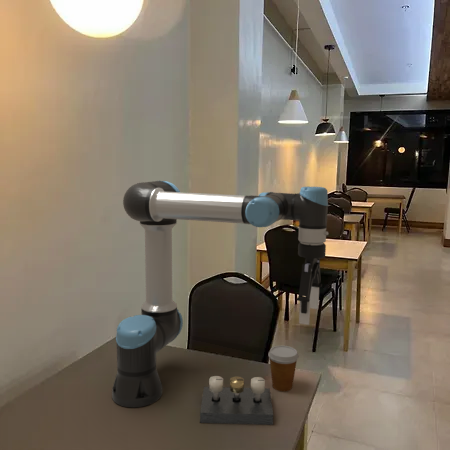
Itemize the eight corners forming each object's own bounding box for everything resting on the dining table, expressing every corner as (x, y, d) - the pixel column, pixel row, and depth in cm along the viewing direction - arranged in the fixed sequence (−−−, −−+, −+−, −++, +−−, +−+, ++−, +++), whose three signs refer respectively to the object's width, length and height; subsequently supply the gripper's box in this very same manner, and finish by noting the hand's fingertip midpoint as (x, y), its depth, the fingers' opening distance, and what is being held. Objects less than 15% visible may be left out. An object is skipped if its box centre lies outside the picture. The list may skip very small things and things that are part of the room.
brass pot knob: (229, 402, 127) (229, 382, 126) (229, 395, 131) (230, 376, 130) (243, 403, 127) (244, 383, 126) (243, 395, 131) (243, 376, 130)
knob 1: (208, 402, 127) (208, 382, 126) (209, 394, 131) (209, 375, 130) (222, 402, 127) (222, 382, 126) (223, 395, 131) (223, 375, 130)
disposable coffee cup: (296, 396, 137) (298, 359, 135) (265, 392, 139) (266, 356, 137) (298, 381, 146) (299, 346, 144) (269, 377, 148) (270, 343, 146)
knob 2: (250, 403, 127) (251, 383, 126) (250, 396, 130) (250, 376, 130) (264, 403, 126) (265, 383, 125) (263, 396, 130) (264, 376, 129)
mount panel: (200, 422, 122) (200, 412, 122) (204, 395, 136) (204, 386, 136) (272, 424, 122) (273, 414, 121) (269, 397, 136) (269, 388, 135)
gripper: (317, 252, 111) (314, 333, 114) (332, 236, 134) (329, 304, 137) (288, 249, 114) (285, 328, 117) (307, 234, 136) (304, 301, 140)
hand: (309, 315), depth 127 cm, fingers open, 13 cm apart
